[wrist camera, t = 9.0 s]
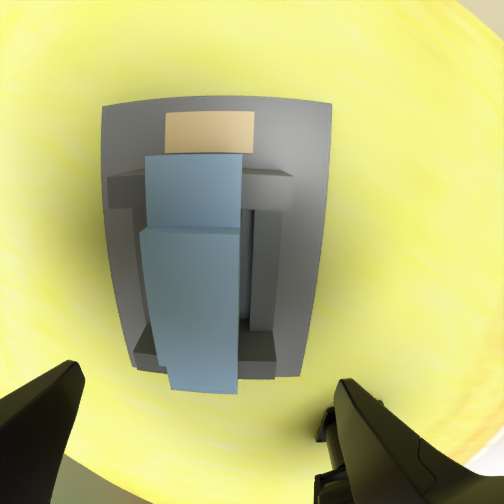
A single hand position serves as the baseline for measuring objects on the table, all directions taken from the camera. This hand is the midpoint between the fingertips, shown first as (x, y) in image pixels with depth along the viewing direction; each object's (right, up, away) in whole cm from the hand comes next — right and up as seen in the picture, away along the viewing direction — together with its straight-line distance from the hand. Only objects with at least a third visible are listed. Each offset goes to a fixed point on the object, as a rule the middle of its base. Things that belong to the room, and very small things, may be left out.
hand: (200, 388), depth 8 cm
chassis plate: (-1, +4, +10) cm, 11 cm away
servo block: (-1, +4, +9) cm, 10 cm away
